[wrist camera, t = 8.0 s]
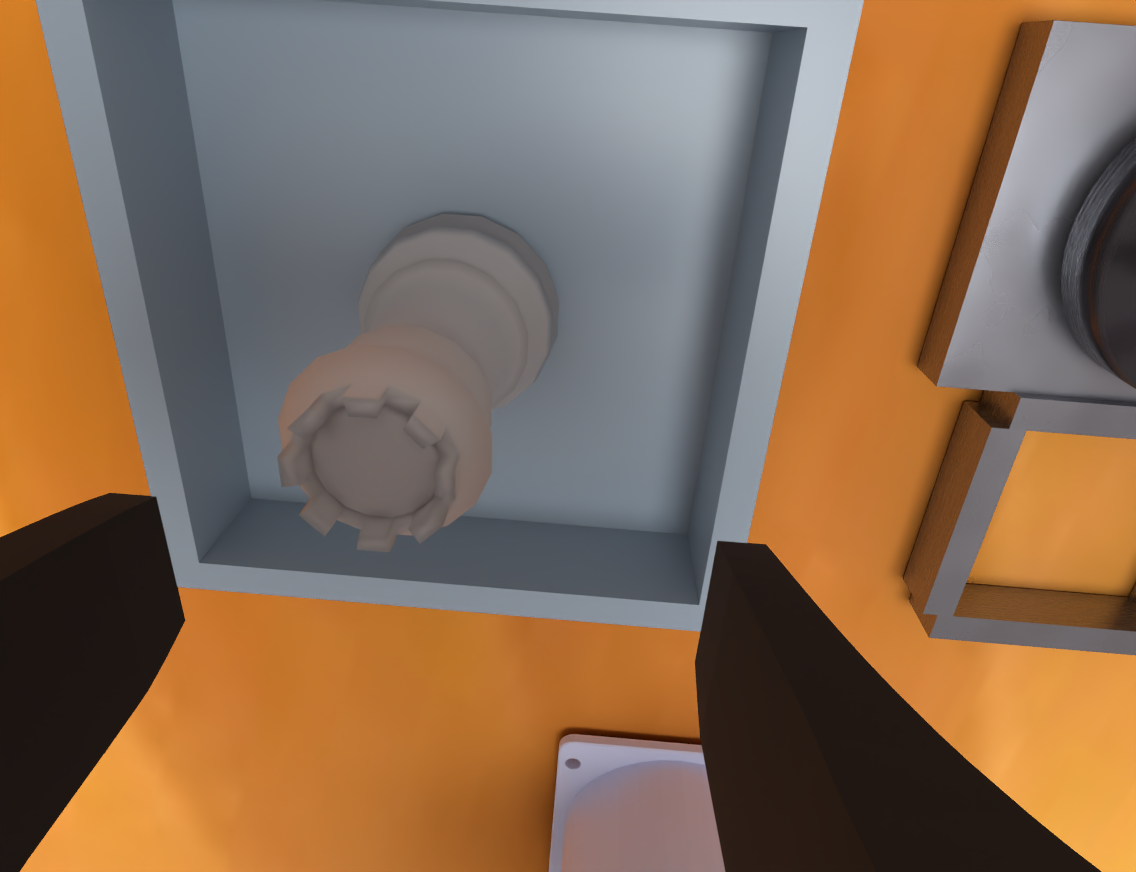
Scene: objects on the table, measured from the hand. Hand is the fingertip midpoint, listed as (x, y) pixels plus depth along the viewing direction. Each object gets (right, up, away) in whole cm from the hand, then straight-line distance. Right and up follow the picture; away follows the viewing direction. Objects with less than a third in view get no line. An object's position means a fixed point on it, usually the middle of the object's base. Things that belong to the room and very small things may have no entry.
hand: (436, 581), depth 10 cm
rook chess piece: (-1, +5, +8) cm, 9 cm away
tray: (-1, +5, +8) cm, 10 cm away
